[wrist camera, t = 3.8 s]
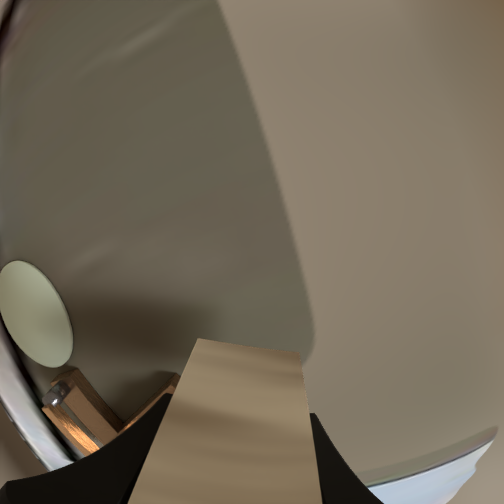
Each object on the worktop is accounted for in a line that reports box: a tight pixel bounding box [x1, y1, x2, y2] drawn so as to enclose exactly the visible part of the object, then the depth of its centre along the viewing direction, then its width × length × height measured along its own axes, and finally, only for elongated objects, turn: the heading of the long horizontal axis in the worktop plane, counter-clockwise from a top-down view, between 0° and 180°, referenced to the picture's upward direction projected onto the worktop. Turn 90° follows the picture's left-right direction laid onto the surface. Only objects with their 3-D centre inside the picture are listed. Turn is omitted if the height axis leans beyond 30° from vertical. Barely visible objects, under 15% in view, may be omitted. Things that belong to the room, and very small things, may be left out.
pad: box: [0, 260, 73, 367], centre depth 16 cm, size 8×8×1 cm
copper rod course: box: [42, 368, 181, 456], centre depth 15 cm, size 12×12×4 cm
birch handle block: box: [128, 338, 322, 504], centre depth 7 cm, size 4×4×8 cm
